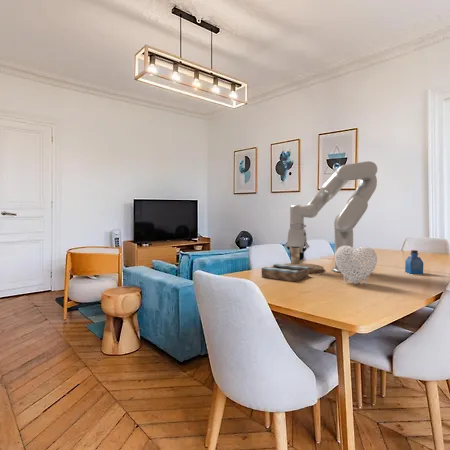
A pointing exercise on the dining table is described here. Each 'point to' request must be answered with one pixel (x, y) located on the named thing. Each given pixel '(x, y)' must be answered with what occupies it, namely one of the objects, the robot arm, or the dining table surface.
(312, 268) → the trivet
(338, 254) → the decorative heart
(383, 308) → the dining table surface
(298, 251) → the beech block
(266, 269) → the crate
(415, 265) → the perfume bottle
